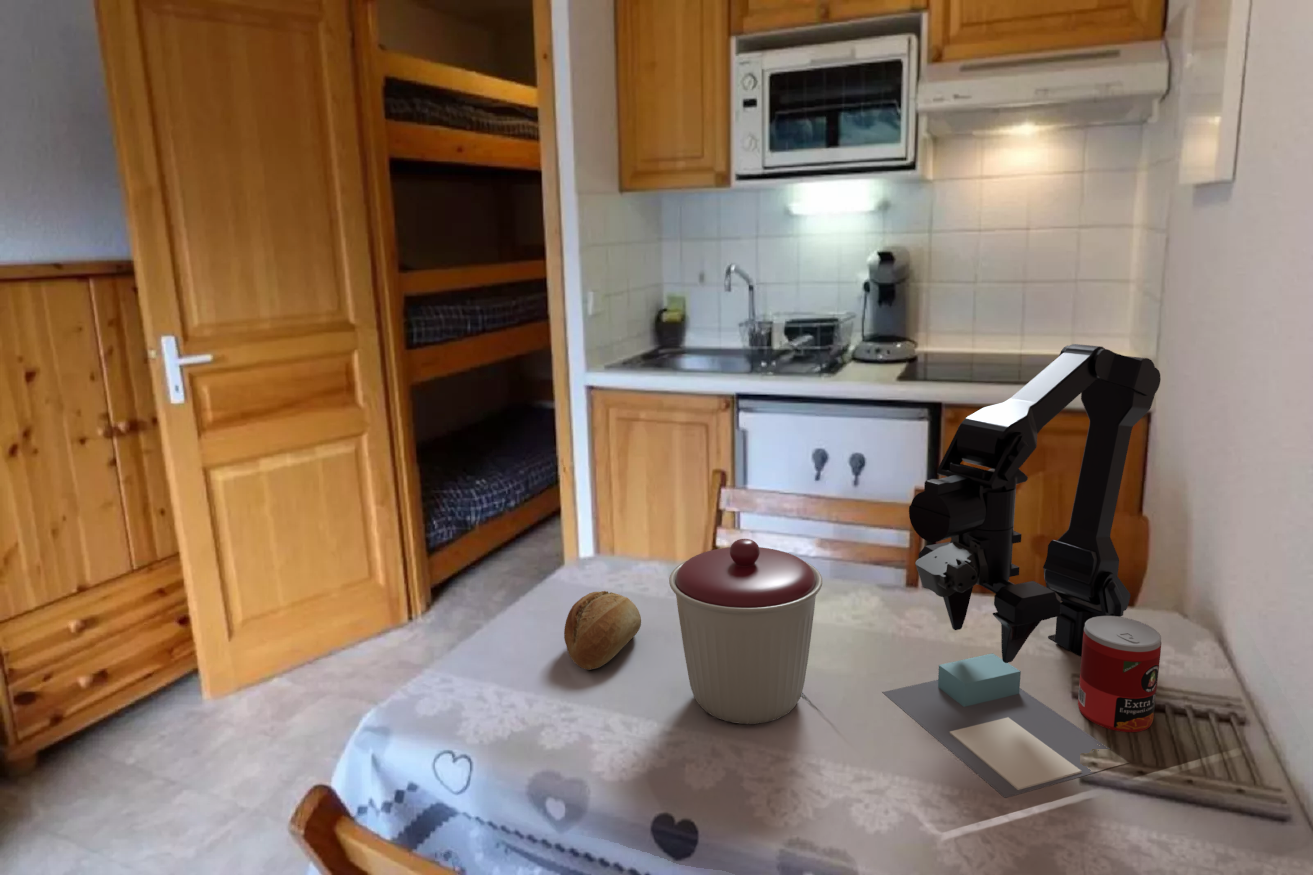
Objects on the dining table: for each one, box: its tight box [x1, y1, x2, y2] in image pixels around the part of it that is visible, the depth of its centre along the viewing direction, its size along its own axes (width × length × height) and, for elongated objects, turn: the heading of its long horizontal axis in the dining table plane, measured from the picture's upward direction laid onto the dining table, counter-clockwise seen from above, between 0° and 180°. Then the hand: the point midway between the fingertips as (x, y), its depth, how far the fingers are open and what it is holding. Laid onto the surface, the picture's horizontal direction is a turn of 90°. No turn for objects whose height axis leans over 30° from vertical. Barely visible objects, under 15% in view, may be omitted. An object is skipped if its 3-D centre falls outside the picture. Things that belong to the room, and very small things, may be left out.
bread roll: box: [563, 590, 642, 671], centre depth 120 cm, size 10×15×8 cm, turn 162°
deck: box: [937, 652, 1022, 707], centre depth 106 cm, size 8×5×3 cm, turn 108°
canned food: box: [1077, 616, 1162, 733], centre depth 99 cm, size 8×8×11 cm
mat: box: [882, 679, 1123, 799], centre depth 99 cm, size 16×22×1 cm
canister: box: [668, 538, 823, 725], centre depth 104 cm, size 18×18×21 cm
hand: (981, 645), depth 105 cm, fingers open, 9 cm apart
